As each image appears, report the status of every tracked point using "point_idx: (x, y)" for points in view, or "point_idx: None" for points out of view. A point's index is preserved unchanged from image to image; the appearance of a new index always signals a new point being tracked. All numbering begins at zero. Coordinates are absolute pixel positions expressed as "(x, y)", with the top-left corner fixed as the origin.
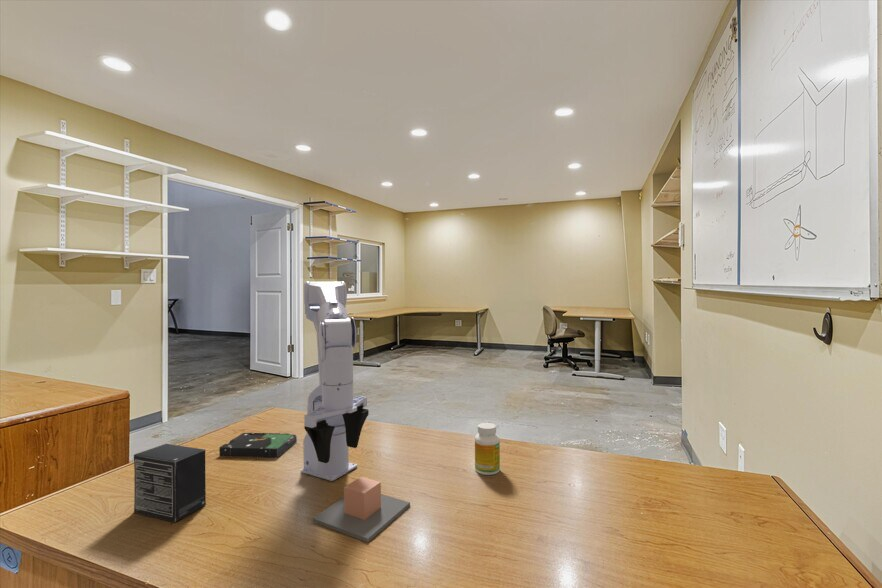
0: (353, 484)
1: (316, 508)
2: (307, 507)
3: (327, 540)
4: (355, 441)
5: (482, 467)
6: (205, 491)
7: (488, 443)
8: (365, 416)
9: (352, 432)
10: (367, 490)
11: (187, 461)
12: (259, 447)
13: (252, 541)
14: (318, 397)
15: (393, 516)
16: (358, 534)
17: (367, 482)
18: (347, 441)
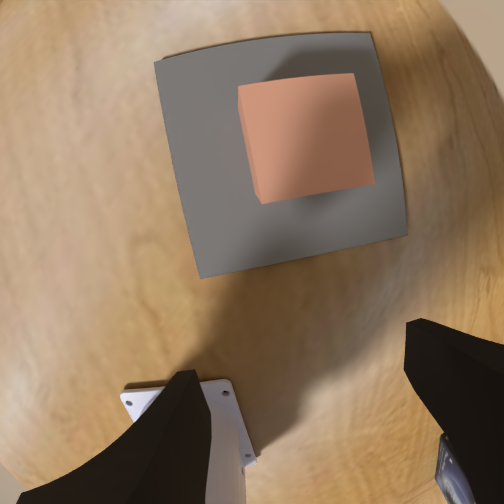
0: (335, 169)
1: (355, 284)
2: (365, 308)
3: (424, 129)
4: (188, 393)
5: None
6: (451, 452)
7: None
8: (58, 497)
9: (187, 453)
10: (330, 77)
11: None
12: None
13: (492, 268)
14: None
15: (249, 41)
16: (376, 63)
17: (282, 131)
18: (208, 431)
